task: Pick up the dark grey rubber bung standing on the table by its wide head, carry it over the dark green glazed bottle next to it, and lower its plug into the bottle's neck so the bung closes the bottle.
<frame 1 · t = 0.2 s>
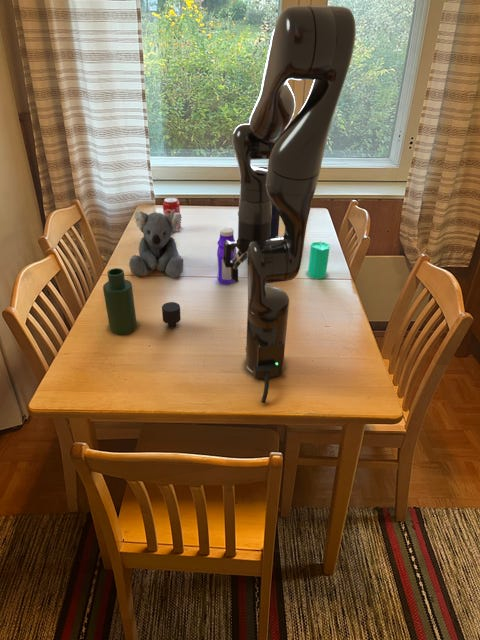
hand: (252, 279, 117), 17 cm above the table, tool pointing down, fingers open, 8 cm apart
bung: (172, 325, 129), on the table
green bottle: (123, 327, 128), on the table
beverage can: (172, 230, 184), on the table
candle: (316, 274, 156), on the table
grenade: (258, 255, 167), on the table
koala plush: (159, 266, 159), on the table
bottle: (226, 280, 151), on the table
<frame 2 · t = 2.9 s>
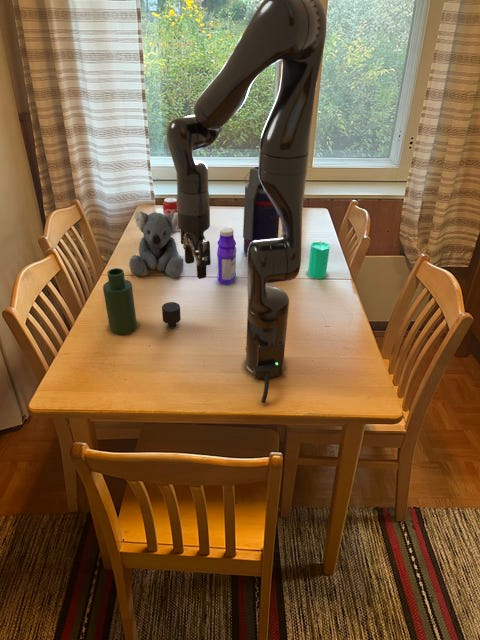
hand: (195, 270, 119), 18 cm above the table, tool pointing down, fingers open, 8 cm apart
nothing on the table moved.
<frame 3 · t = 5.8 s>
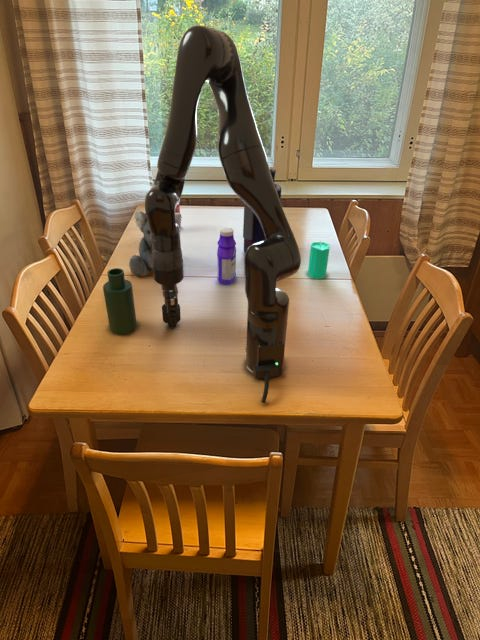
hand: (171, 318, 128), 2 cm above the table, tool pointing down, fingers closed on bung, 4 cm apart
bung: (172, 325, 129), on the table, touching gripper
everything else where it was.
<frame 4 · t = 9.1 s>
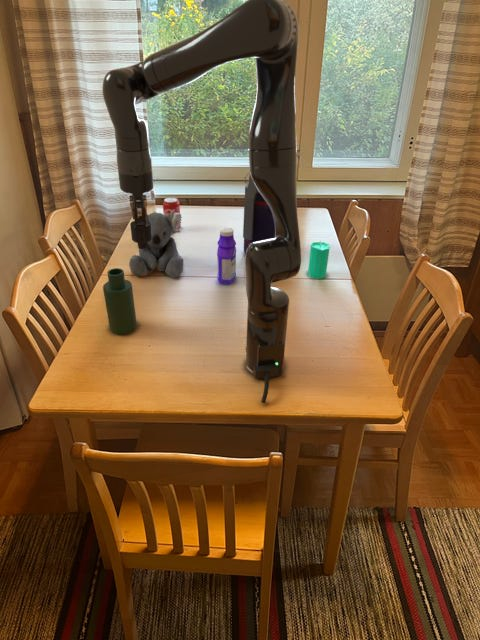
hand: (141, 238, 115), 26 cm above the table, tool pointing down, fingers closed on bung, 4 cm apart
bung: (142, 247, 116), point 23 cm above the table, touching gripper
everything else where it was.
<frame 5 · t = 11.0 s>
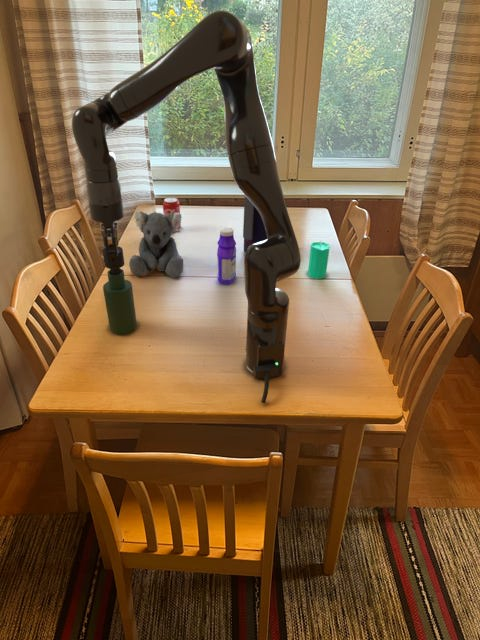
hand: (114, 264, 118), 19 cm above the table, tool pointing down, fingers closed on bung, 4 cm apart
bung: (115, 272, 119), point 17 cm above the table, touching gripper
everything else where it was.
when the fingers open (17 cm above the table, at t = 12.2 s): bung stays where it is, resting on green bottle.
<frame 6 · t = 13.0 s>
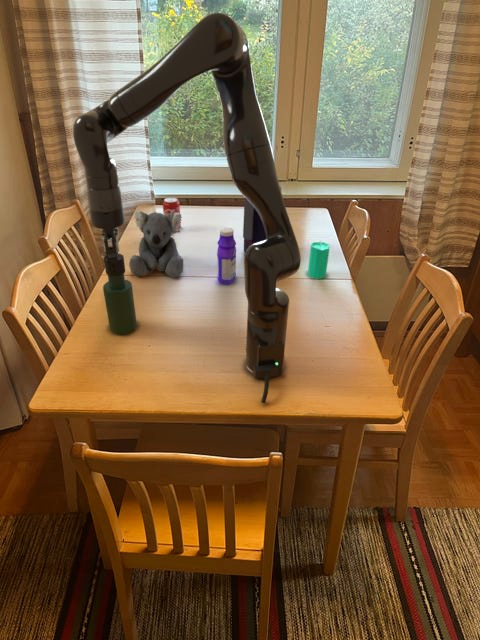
hand: (114, 267, 118), 18 cm above the table, tool pointing down, fingers open, 8 cm apart
bung: (116, 279, 120), point 15 cm above the table, touching green bottle
everything else where it was.
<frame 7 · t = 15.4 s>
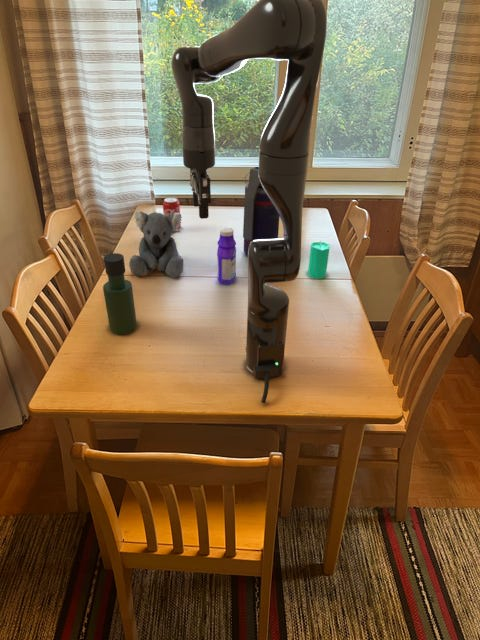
hand: (200, 211, 119), 30 cm above the table, tool pointing down, fingers open, 8 cm apart
nothing on the table moved.
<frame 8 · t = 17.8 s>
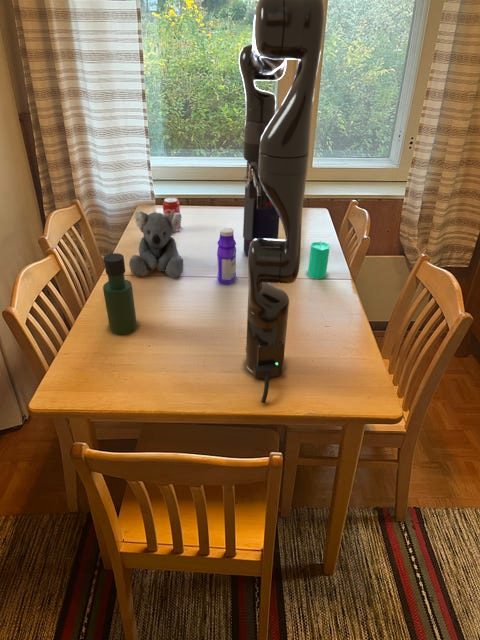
hand: (256, 203, 124), 30 cm above the table, tool pointing down, fingers open, 8 cm apart
nothing on the table moved.
at the end: bung 0.1 cm off-centre in the green bottle, point 14.8 cm above the green bottle's base; bung tilted 0°; the gripper is holding nothing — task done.
